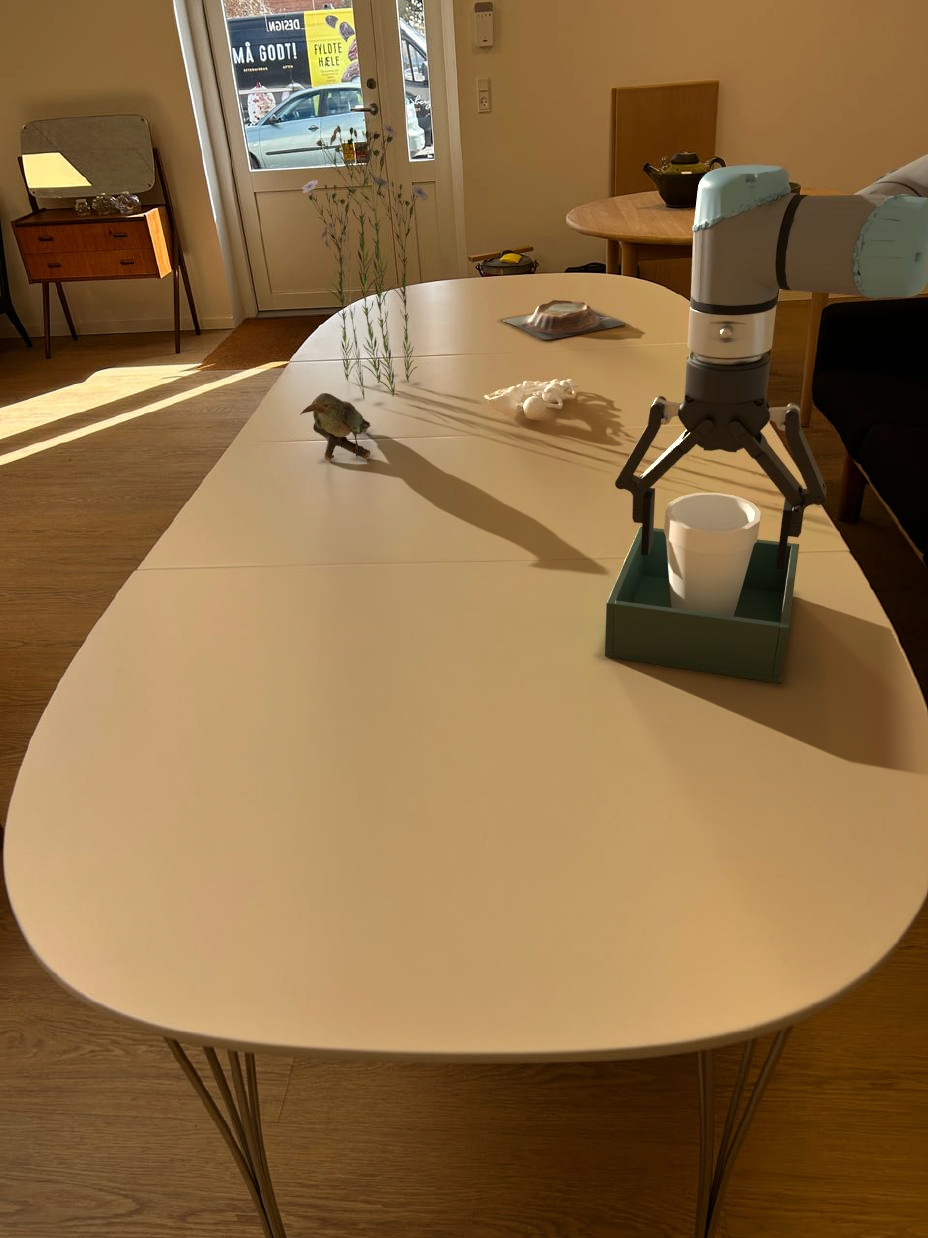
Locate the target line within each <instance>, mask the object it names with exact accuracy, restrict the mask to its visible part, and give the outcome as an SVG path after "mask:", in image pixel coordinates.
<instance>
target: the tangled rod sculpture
mask: <svg viewBox="0 0 928 1238" xmlns="http://www.w3.org/2000/svg"><path fill="white" fill-rule="evenodd" d="M579 387H580V385H579V384H578V383H577V382H576V381H575V380H574V379H572V378H568V379H566V380H559V379H557V378H555V379H553V380H550V381H544V382H542V381H541V380H536V381H531V380H525V381H523V383H519V384H517V385H513V386H510V387H505V388H500V389H498V390H496V391H493V392H490V393H488V394H485V395H484V399H486V400H487V407H488V408H490V409H491V410H493V411H495V412H498V413H500V414H501V415H504V416H512V415H514V414H515V413H516V412H517V410H518V407H520V408H522V410H523V413H524V415H525V417H526V418H528V419H529V420H534V421H535V420H538V419H541V418H542V417H543V416H544V415H545V413H546V411H547V408H549V409H555V410H561V409H562V408H563V401H565V400H574V399H575V398H576V397H577V389H576V388H579ZM567 390H570V391H571V394H565V391H567ZM527 395H532V396H530V397H528V398H527V399H526V400H524V401H523V399H524V396H527ZM539 395H541V397H540V396H539ZM492 396H493V397H492Z"/></svg>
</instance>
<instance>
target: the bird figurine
mask: <svg viewBox="0 0 928 1238" xmlns="http://www.w3.org/2000/svg"><path fill="white" fill-rule="evenodd" d="M307 413H312V416H313V420H314V423H313V426H312V429H313V431H314V432H315V433H317V434H319V435H321V436H322V437H323V438H324V439H325V440H326V442H327V444H326V447H325V451H324V457H323V458H324V460H325V461H328V462H330V461H332V460H333V459H335V455H334V451H335V449H336V447H339V448H341V449H344V450H346V451H348V452H350V453H352V454H353V455H355V456H356V458H357V459H358V458H359V457H360V458H363V459H365V460H367V459H369V457H370V455H371V451H370V450H369V449H367V448H365V447H364V446H363V445H359V443H358V438H357V437H358V436H357V435H361V434H362V433H363V434H364V433H367V430H369V428H370V427H371V426H372V425H371V422H369V421H368V420H366V419H365V418H364V416H363V415H362V413H361V412H359V411H358V409H356V407H355V405H353V404H352V403H351V402H350V401H347V400H341V399H340V398H339V397H336V396H335V395H333V394H331V393H327V392H322V393H320V394H319V395H317V396H316V397H315V398H314V399H313V401H312V402H311V404H309V405H308V406H307V407H306V408H304V409H303V410H302V411H301V413H300V414H299V415H303V414H307ZM350 434H352V435H353V437H354V441H355V442H353V441H351V440H349V439H348V438H347V436H349V435H350Z"/></svg>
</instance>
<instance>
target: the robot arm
mask: <svg viewBox="0 0 928 1238" xmlns="http://www.w3.org/2000/svg"><path fill="white" fill-rule="evenodd" d="M791 190H792V187H791V185H790V173H789V171H788V170H787V169H786V168H785V167H783V166H779V165H768V164H743V165H742V164H741V165H731V166H724V167H718V168H715V169H712V170H710V171H708V172H707V173H705V174H704V175H703V176H702V178H701V179H700V180H699V184H698V187H697V195H696V205H695V213H694V222H693V225H692V226H691V229H692V236H693V237H692V260H691V264H692V265H691V283H690V284H691V285H690V298H689V299H690V300H689V314H688V328H687V329H688V330H687V346H686V347H687V348H688V350H689V351H690V353H689V354H688V356H687V357H686V362H685V363H686V365H685V379H684V380H685V381H684V383H685V384H684V397H683V401H682V402H676V401H669V400H667V398H666V397H664V396H662V395H658V396H656V398H655V399H654V401H653V402H652V404H651V406H650V408H649V414H648V420H647V421H648V422H647V425H646V427H645V428H644V430H643V432H642V434H641V436H640V437H639V439H638V440H637V442H636V444H635V446H634V447H633V450H632V451H631V453H630V455H629V457H628V458H627V460H626V461H625V463H624V465H623V467H622V468H621V471H620V472H619V474H618V475H617V478H616V479H615V482H614V486H615V488H616V489H618V490H626V491H628V492H630V494H631V495H632V521H633V523H635V524H641V527H642V545H641V555H649V552H650V550H651V547H652V545H653V530H654V528H655V526H654V525H655V505H656V502H655V501H656V487H653V486H654V485H656V483H657V482H658V481H659V480H661V478H662V477H663V476H664V475H665V474H666V473H668V471H670V469H671V468H672V467H673V466H674V465H676V464H677V462H678V461H680V460H681V459H682V458H683V457H684V456H685V455H687V454H688V453H689V452H690V451H691V450H692V449H693V448H694V447H695V446H698V447H699V448H700V449H701V448H702V449H703V451H707V452H708V451H709V452H712V451H713V452H714V451H718V450H721V451H724V452H727V453H738V451H740V450H743V449H744V451H746V453H747V454H748V455H749V456H750V458H751V459H753V460H754V461H756V463H757V465H759V467H760V468H761V469H762V470H763V471H764V473H765V474H766V476H767V477H768V478H769V480H770V481H771V482H772V483H773V484H774V486H775V487H776V489H778V491H779V492H780V493H781V495H782V496H783V497H784V503H783V508H782V517H781V524H780V532H779V541H778V542H779V548H778V556H777V565H776V569H784V565H785V558H786V550H787V543H789V537H790V538H791V537H792V538H799V537H800V535H801V533H802V529H803V521H804V513H805V510H806V508H808V507H809V506H812V505H816V506H821V505H823V504H825V502H826V499H827V486H826V484H825V481H824V478H823V477H822V476H823V475H822V473H821V471H820V469H819V466H818V464H817V462H816V460H815V459H816V458H815V457H814V455H813V452H812V450H811V447H810V445H809V442H808V439H807V437H806V435H805V433H804V429H803V428H802V425H801V405H800V404H799V403H798V402H796V401H792V402H790V403H789V404H788V405H787V406H775V407H774V406H772V407H770V405H769V403H768V391H769V390H768V388H769V378H770V370H771V362H772V361H771V360H772V358H771V356H770V355H769V354H768V353H767V352H769V351H771V350H772V348H773V342H774V333H775V332H774V331H775V323H776V322H775V321H776V313H777V306H778V305H777V303H778V291H779V290H782V291H788V292H789V291H790V292H791V291H792V292H793V291H796V292H806V293H820V294H830V295H831V294H832V295H843V296H855V297H865V298H869V299H872V300H880V299H883V298H912V297H915V296H918V295H919V294H920V293H922V292H923V290H924V289H925V288H926V286H927V285H928V153H926V154H925V155H923V156H921V157H919V158H916V159H915V160H913V161H912V162H910V163H908V164H906V165H904V166H901V167H898V168H896V169H894V170H892V171H889V172H888V173H885V174H884V175H882V176H880V177H879V178H877V179H876V180H875V181H873V182H872V183H871V184H870V185H867V186H866V187H864V188H863V189H861V190H859V191H857V192H855V193H854V194H815V195H813V194H811V195H810V194H801V193H796V192H795V193H794V192H791ZM674 417H678V419H679V421H680V423H681V424H682V425H683V427H684V428H685V430H684V431H683V432H682V433H681V435H680V436H679V437H678V438H677V439H676V440H675V441H674V442H673V443H672V444H671V445H670V446H669V447H668V448H667V449H666V450H665V451H664V452H662V454H661V455H660V456H659V457H658V458H657V459H656V460H655V461H653V463H652V464H651V465H650V466H649V467H648V468H646V470H645V471H643V473H642V474H641V475H639V476H638V475H635V472H636V471H637V469H638V468H639V465H640V464H641V462H642V460H643V458H644V457H645V455H646V453H647V452H648V450H649V449H650V447H651V445H652V443H653V441H654V440H655V439H656V436H657V435H658V433H659V431H660V429H661V426H662V425H663V426H665V425H668V424H669V423H671V420H672V419H673V418H674ZM769 422H773V423H774V424H775V425H776V427H777V430H778V431H782V432H785V438H786V441H787V444H788V446H789V449H790V451H791V453H792V456H793V458H794V461H795V463H796V465H797V468H798V470H799V473H800V475H801V477H802V481H803V482H804V485H805V487H806V488H804V487H803V486H802V485H801V484H800V482H799V481H798V480H797V478H796V477H795V476H794V474H793V473H792V472H791V470H789V468H788V467H787V465H786V464H785V463H784V461H783V460H782V459H781V458H780V457H779V455H778V454H777V453H776V451H775V450H774V449H773V447H772V446H771V445H770V444H769V442H768V440H767V438H766V436H765V435H764V434H763V432H762V430H763V429H764V428H765V427H766V426H767V425H768V423H769Z"/></svg>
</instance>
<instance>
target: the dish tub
mask: <svg viewBox="0 0 928 1238" xmlns="http://www.w3.org/2000/svg"><path fill="white" fill-rule="evenodd" d="M641 545H642V526H639V528H638V529H637V532H636V534H635V537H634V539H633V541H632V544H631V546H630V548H629V551H628V553H627V555H626V557H625V559H624V562H623V565H622V567H621V569H620V571H619V574H618V576H617V578H616V580H615V583H614V585H613V587H612V590H611V592H610V595H609V597H608V599H607V600H606V604H605V605H606V607H605V608H606V609H605V612H606V613H605V633H604V635H605V637H604V638H605V640H604V657H606V658H613V659H619V660H624V661H625V660H626V661H632V662H638V663H644V664H651V665H657V666H664V667H669V668H677V669H683V670H690V671H697V672H702V673H708V674H715V675H720V676H721V675H722V676H729V677H734V678H735V677H736V678H741V679H748V680H754V681H759V682H760V681H761V682H765V683H767V682H768V683H774V684H780V683H781V680H782V672H783V667H784V661H785V654H786V648H787V641H788V635H789V631H790V630H789V629H790V622H791V613H792V605H793V598H794V592H795V591H794V590H795V582H796V576H797V575H796V574H797V566H798V558H799V550H800V543H794V542H787V550H786V558H785V565H784V569H776V565H777V556H778V548H779V541H776V540H766V539H758V538H757V542H756V543H755V544H754V546H753V550H752V553H751V557H750V560H749V564H748V567H747V571H746V575H745V578H744V582H743V585H742V589H741V592H740V596H739V600H738V603H737V607H736V610H735V614H734V616H726V615H719V614H711V613H704V612H697V611H689V610H682V609H675V608H671V596H670V583H669V569H668V556H667V542H666V535H665V533H664V528H659V527H654V530H653V545H652V547H651V550H650V552H649V555H641Z"/></svg>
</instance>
